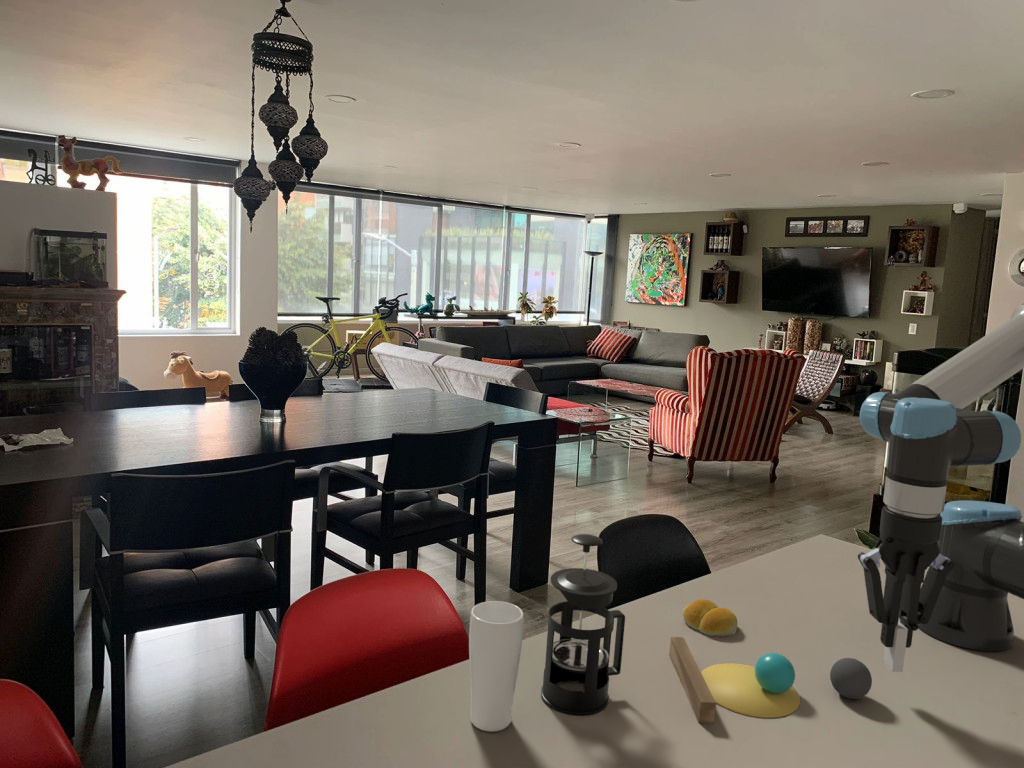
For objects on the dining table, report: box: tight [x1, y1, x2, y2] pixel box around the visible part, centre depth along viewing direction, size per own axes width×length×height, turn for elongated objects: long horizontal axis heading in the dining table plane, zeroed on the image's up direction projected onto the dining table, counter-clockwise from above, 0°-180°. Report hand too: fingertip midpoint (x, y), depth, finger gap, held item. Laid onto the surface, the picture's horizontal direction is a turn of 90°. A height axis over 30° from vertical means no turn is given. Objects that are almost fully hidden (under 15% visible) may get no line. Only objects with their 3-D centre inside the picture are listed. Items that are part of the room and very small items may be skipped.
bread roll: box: [682, 598, 739, 637], centre depth 130 cm, size 8×9×4 cm
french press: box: [540, 533, 626, 717], centre depth 104 cm, size 12×9×23 cm
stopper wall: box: [668, 636, 717, 725], centre depth 110 cm, size 2×18×3 cm, turn 1°
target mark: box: [700, 662, 801, 719], centre depth 110 cm, size 14×14×1 cm
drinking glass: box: [468, 600, 524, 733], centre depth 97 cm, size 7×7×15 cm
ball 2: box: [829, 657, 873, 700], centre depth 110 cm, size 6×6×6 cm
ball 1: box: [754, 652, 796, 694], centre depth 110 cm, size 6×6×6 cm
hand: (892, 666), depth 110 cm, fingers closed
